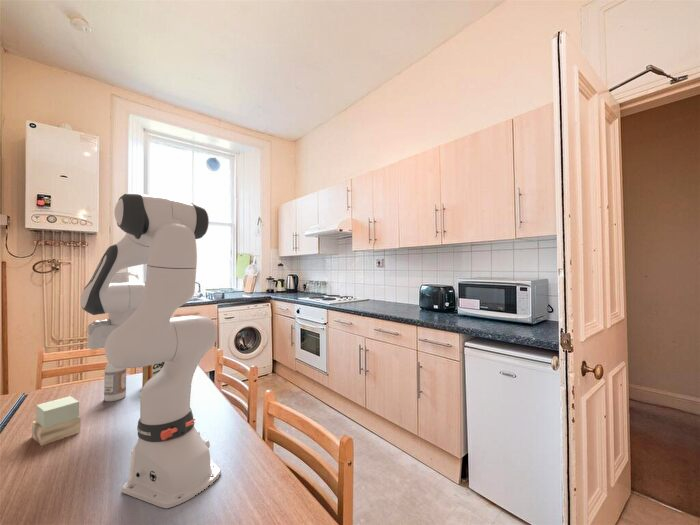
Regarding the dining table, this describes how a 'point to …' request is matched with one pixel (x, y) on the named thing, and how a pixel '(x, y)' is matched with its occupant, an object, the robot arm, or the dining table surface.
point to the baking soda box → (151, 371)
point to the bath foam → (114, 383)
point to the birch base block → (55, 431)
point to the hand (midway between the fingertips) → (123, 356)
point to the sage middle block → (57, 411)
